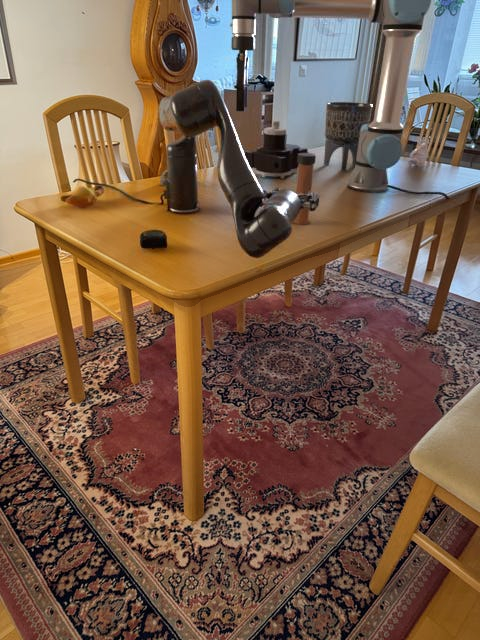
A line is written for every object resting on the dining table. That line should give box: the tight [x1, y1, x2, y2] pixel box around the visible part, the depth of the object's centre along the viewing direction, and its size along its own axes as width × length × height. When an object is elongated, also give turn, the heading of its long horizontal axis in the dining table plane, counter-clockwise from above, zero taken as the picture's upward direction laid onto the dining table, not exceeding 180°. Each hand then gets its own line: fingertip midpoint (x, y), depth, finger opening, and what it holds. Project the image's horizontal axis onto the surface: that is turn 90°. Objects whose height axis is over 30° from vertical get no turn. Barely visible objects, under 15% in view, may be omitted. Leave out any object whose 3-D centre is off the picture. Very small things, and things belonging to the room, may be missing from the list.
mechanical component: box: [242, 120, 310, 179], centre depth 191 cm, size 22×21×30 cm
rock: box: [159, 168, 168, 187], centre depth 175 cm, size 13×9×6 cm, turn 131°
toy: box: [60, 185, 105, 208], centre depth 150 cm, size 11×6×15 cm
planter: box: [323, 101, 374, 172], centre depth 204 cm, size 20×20×26 cm
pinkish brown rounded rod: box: [293, 163, 315, 225], centre depth 134 cm, size 4×4×19 cm
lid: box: [297, 152, 317, 165], centre depth 130 cm, size 5×5×2 cm
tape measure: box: [139, 229, 168, 250], centre depth 117 cm, size 7×7×4 cm
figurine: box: [407, 136, 430, 167], centre depth 213 cm, size 8×15×13 cm, turn 145°
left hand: (293, 193), depth 116 cm, fingers open, 8 cm apart
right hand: (241, 109), depth 155 cm, fingers open, 13 cm apart
